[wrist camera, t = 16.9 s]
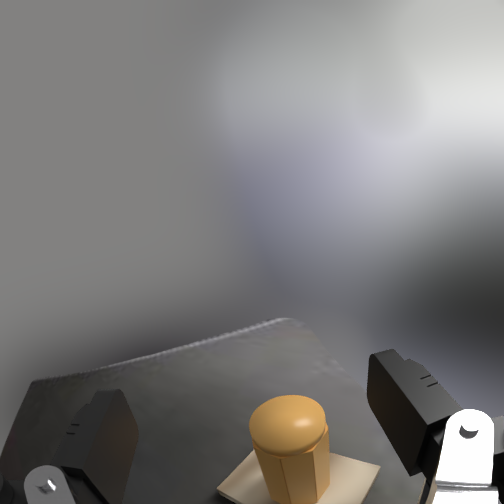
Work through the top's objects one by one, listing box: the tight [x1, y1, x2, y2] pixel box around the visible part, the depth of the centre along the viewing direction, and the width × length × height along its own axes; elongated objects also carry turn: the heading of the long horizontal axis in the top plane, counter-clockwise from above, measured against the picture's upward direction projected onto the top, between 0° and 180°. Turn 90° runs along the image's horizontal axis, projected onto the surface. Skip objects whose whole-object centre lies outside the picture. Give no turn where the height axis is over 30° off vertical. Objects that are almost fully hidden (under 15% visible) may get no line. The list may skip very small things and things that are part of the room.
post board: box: [217, 450, 380, 504], centre depth 25 cm, size 14×10×8 cm
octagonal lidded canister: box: [249, 395, 330, 504], centre depth 24 cm, size 6×6×11 cm
